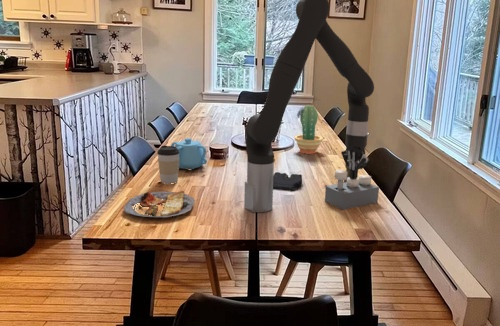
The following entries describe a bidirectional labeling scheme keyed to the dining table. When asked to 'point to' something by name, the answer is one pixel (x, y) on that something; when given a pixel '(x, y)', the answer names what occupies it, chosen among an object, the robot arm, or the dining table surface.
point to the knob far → (364, 180)
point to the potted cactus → (308, 130)
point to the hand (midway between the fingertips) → (353, 178)
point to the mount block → (351, 196)
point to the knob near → (340, 178)
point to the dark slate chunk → (287, 181)
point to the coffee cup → (168, 164)
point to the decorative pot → (190, 154)
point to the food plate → (173, 203)
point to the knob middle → (352, 182)
